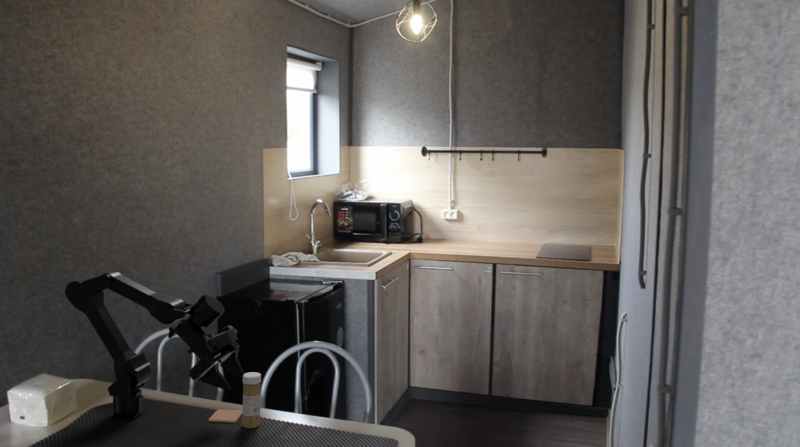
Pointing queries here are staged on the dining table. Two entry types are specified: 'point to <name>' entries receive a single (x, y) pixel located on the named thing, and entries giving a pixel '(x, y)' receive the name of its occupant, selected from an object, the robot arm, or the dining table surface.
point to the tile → (226, 416)
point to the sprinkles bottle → (251, 399)
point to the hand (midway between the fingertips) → (237, 383)
